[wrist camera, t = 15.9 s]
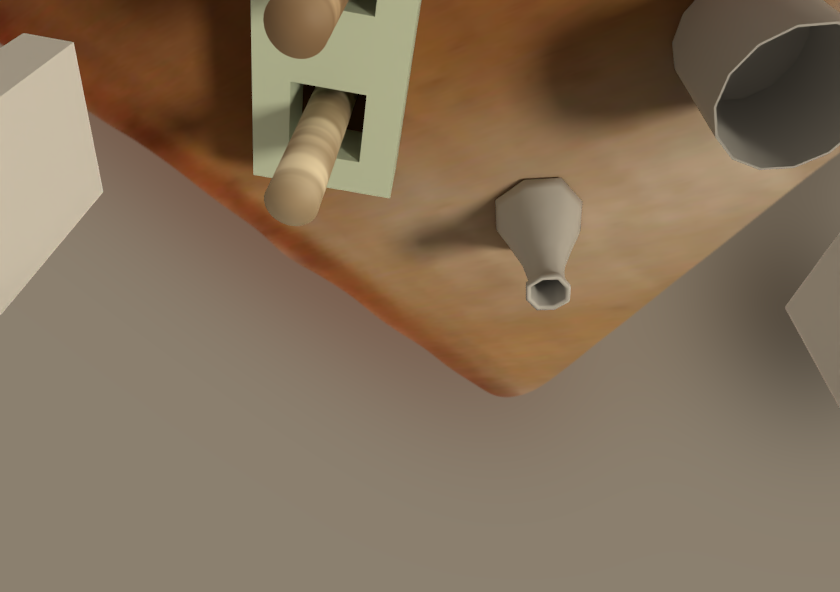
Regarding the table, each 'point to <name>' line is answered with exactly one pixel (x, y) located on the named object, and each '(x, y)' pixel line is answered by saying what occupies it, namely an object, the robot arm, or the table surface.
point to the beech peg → (309, 157)
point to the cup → (764, 77)
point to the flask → (541, 235)
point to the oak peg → (301, 25)
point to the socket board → (340, 70)
